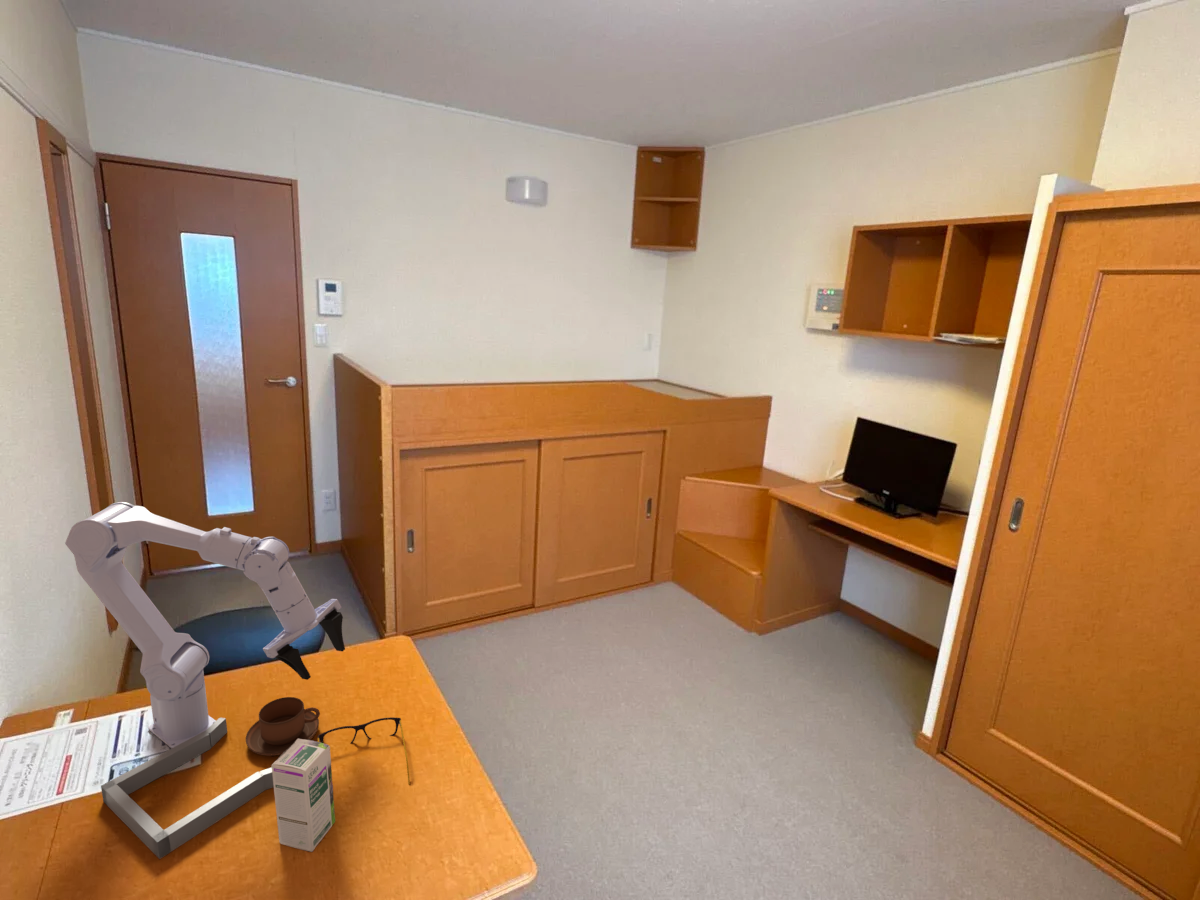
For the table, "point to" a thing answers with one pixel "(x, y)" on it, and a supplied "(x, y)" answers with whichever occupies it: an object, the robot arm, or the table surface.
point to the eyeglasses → (362, 727)
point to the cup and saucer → (282, 726)
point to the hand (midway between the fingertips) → (324, 663)
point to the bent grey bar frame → (195, 821)
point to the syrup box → (303, 794)
